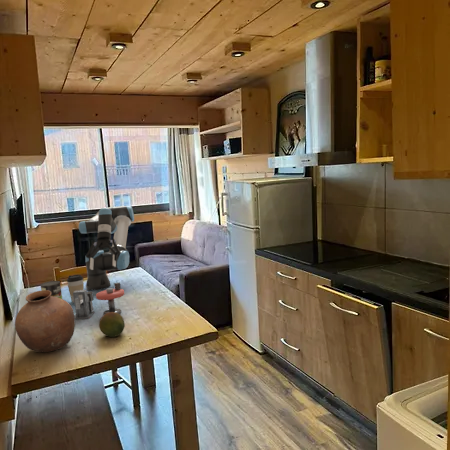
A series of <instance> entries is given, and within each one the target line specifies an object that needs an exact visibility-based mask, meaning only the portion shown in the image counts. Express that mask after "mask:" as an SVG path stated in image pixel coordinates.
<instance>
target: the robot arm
mask: <svg viewBox="0 0 450 450" xmlns="http://www.w3.org/2000/svg"><path fill="white" fill-rule="evenodd" d="M132 222H133V223H134V222H135V213H134V209H133V207H132V205H120V206H119V205H117V206H109V207H103V208H100V209H99V211H98V212H96V214H95V215H94V216H92V217H91V218H89V219H88V220H83V221H80V222H79V223H78V230H79V233H80V234H90V233H92V234H93V233H97V237H96V239H97V241H96V242H94V241H92V242H91V246H90V247H89V249H88V251H87V253H86V255H85V266H86V274H87V278H86V284H85V290H87V291H99V290H103V289H104V288H105V289H108V288H110V287H111V284H112V283H111V281H110V278H109V276H108V274H107V271H116V270H118V271H119V270H121V271H122V270H125V269H127V268H128V266H129V264H130V253H129V250H128V249H127V247H126V246H127V239H128V232H129V231H128V230H129V227H130V226H131V224H132ZM112 234H113V238H112ZM111 244H112V246H111ZM104 249H108V250H109V251H104Z"/></svg>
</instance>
